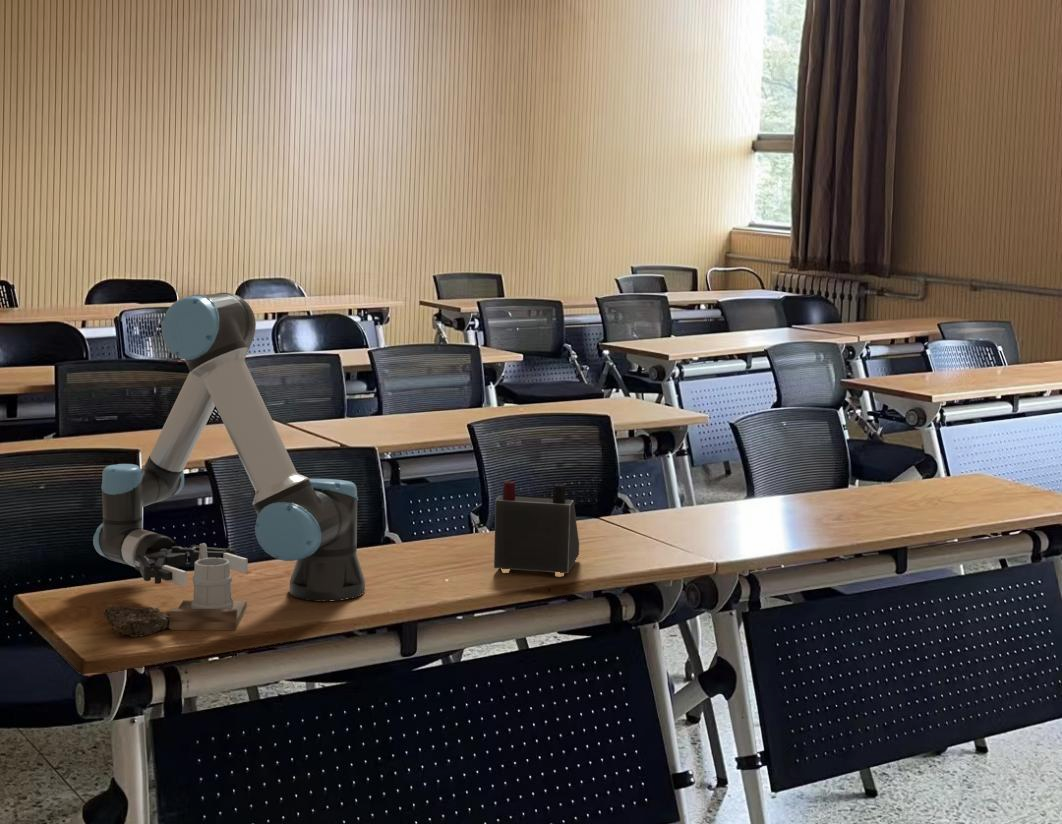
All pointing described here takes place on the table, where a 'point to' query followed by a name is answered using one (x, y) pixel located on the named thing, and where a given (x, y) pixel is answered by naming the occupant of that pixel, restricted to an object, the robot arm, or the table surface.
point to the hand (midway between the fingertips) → (216, 572)
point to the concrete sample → (136, 620)
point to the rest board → (206, 617)
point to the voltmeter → (535, 531)
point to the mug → (211, 582)
